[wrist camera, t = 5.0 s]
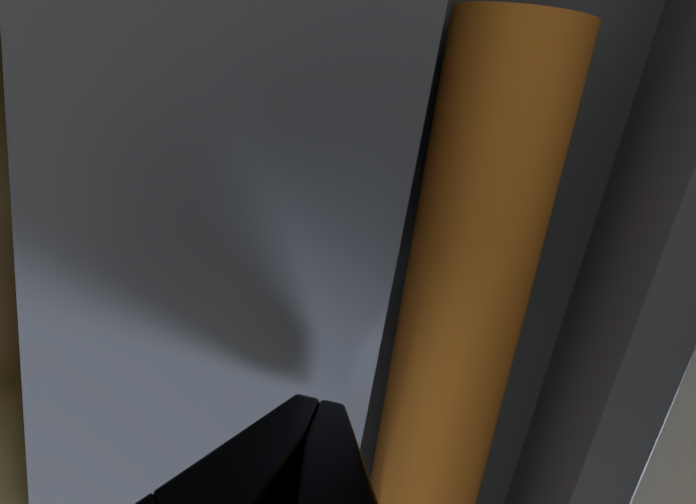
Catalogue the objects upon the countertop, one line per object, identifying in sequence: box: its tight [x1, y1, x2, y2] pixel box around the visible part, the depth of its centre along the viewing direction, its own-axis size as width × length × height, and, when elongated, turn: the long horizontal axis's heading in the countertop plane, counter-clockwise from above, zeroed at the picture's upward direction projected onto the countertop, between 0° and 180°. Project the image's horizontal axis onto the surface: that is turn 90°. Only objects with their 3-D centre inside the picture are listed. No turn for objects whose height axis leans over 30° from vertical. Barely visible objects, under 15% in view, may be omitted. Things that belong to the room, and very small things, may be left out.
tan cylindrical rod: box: [370, 1, 601, 504], centre depth 12 cm, size 14×2×2 cm
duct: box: [0, 0, 696, 504], centre depth 12 cm, size 17×26×4 cm, turn 171°
